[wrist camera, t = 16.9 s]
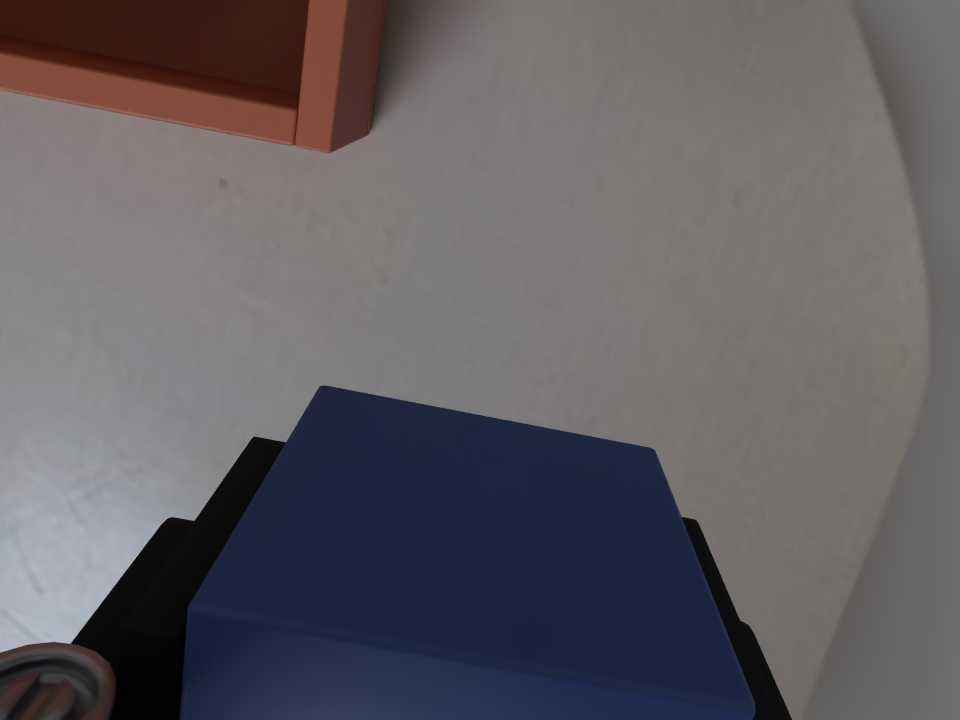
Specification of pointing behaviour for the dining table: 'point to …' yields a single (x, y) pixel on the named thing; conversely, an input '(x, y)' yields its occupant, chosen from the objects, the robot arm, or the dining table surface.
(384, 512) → the blue block
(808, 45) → the dining table surface
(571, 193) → the dining table surface
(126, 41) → the terracotta bin
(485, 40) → the dining table surface
